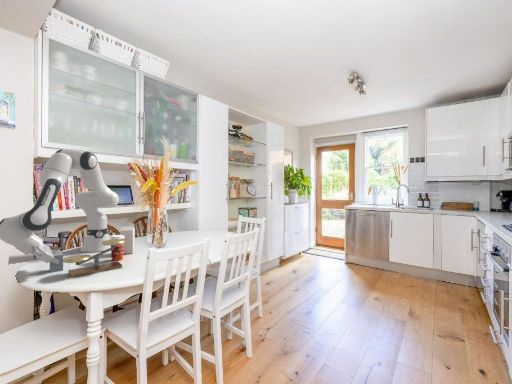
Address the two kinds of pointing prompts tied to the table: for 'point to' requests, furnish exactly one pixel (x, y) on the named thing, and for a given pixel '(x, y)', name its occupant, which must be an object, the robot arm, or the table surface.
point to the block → (58, 266)
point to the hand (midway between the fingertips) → (57, 261)
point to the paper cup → (117, 249)
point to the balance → (96, 268)
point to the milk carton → (128, 237)
